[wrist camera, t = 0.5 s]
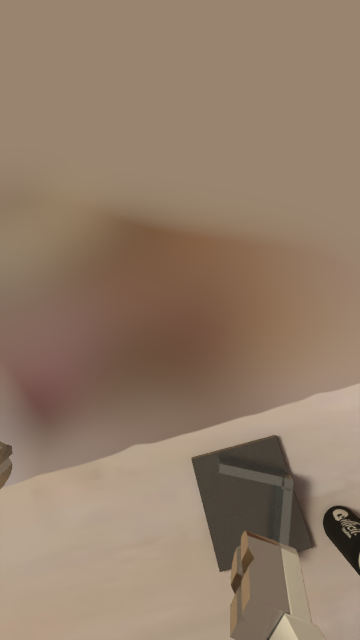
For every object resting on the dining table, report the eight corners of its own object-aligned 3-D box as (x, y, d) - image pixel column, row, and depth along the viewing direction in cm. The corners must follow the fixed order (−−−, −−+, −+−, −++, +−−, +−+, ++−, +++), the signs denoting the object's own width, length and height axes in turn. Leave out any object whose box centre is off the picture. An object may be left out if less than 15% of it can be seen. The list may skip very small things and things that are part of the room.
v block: (219, 567, 51) (221, 588, 46) (191, 457, 56) (190, 465, 51) (310, 543, 51) (322, 561, 46) (274, 435, 55) (282, 440, 50)
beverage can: (315, 529, 51) (349, 572, 40) (329, 496, 52) (367, 530, 41) (348, 550, 50) (393, 602, 38) (362, 517, 51) (410, 557, 39)
